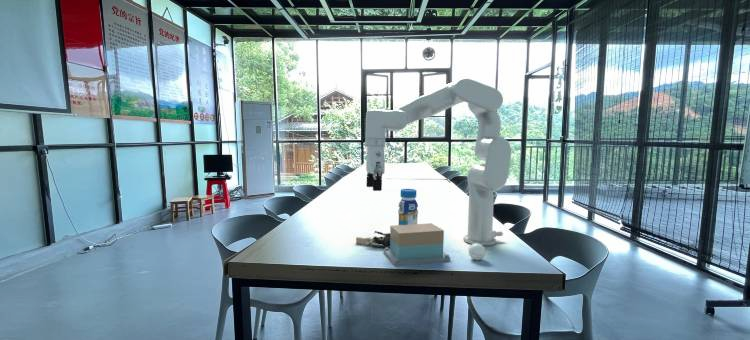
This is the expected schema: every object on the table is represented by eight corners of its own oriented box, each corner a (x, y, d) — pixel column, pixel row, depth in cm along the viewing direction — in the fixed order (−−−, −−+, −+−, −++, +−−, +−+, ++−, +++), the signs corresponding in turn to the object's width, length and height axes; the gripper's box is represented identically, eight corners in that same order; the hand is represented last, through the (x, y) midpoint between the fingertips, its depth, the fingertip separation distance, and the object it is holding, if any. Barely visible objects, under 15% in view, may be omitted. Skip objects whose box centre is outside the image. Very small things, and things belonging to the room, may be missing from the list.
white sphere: (465, 259, 111) (466, 243, 110) (472, 255, 115) (472, 240, 115) (487, 265, 106) (488, 248, 106) (493, 260, 110) (494, 244, 110)
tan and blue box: (434, 248, 123) (434, 222, 122) (450, 260, 110) (451, 231, 109) (383, 252, 118) (383, 225, 117) (394, 265, 105) (394, 235, 104)
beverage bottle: (398, 232, 144) (399, 188, 142) (417, 233, 143) (418, 188, 141) (397, 238, 135) (397, 190, 134) (417, 239, 134) (418, 191, 132)
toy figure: (353, 248, 123) (393, 249, 121) (353, 232, 123) (392, 232, 121) (357, 245, 130) (394, 245, 128) (357, 229, 130) (394, 229, 128)
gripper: (391, 144, 113) (390, 192, 115) (378, 143, 130) (377, 185, 131) (371, 143, 111) (369, 192, 113) (360, 142, 128) (359, 185, 129)
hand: (373, 188), depth 122 cm, fingers open, 9 cm apart
